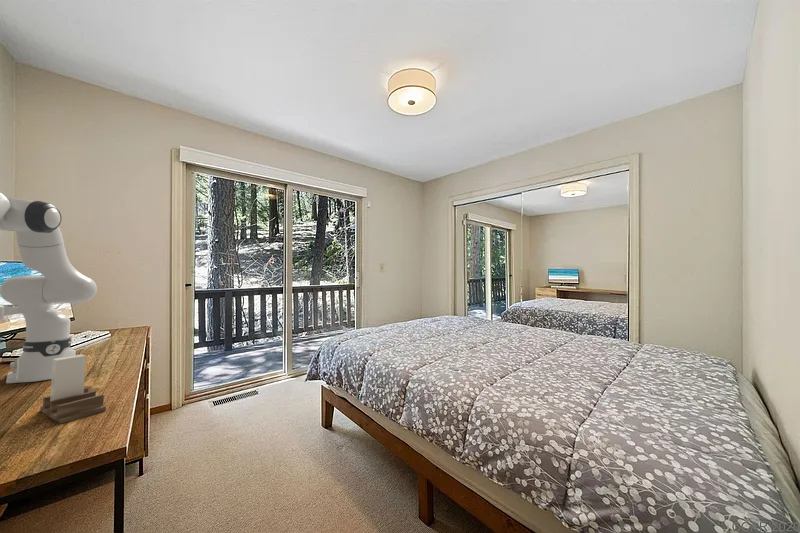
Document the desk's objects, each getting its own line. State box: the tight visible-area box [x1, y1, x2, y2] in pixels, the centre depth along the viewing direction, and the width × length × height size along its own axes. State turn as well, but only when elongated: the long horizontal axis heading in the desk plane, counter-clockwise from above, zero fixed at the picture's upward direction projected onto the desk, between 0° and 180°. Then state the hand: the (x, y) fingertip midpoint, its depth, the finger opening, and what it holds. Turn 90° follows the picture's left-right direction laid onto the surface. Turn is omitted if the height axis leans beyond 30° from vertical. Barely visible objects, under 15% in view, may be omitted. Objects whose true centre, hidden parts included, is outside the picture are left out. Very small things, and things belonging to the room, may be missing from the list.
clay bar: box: [49, 354, 87, 401], centre depth 87 cm, size 3×6×14 cm, turn 153°
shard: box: [84, 385, 101, 392], centre depth 97 cm, size 11×8×2 cm
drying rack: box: [39, 387, 107, 425], centre depth 86 cm, size 16×9×4 cm, turn 63°
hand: (22, 308), depth 83 cm, fingers open, 8 cm apart
